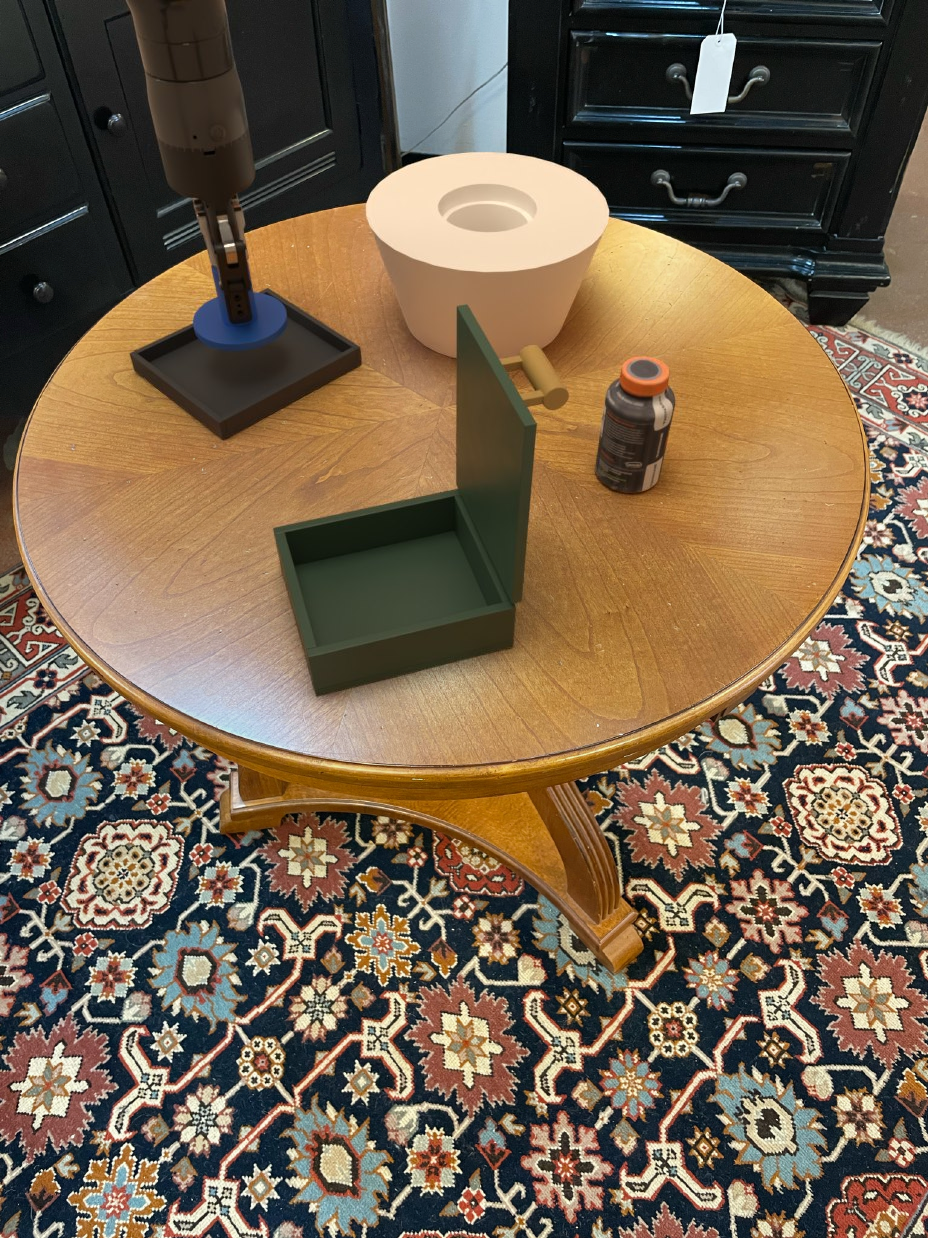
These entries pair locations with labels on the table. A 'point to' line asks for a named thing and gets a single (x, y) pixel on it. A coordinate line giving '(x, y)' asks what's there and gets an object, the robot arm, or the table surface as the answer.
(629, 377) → the pill bottle
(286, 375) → the tray
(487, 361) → the chest lid
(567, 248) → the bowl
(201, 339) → the blue lid
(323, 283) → the table surface
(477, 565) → the green chest
